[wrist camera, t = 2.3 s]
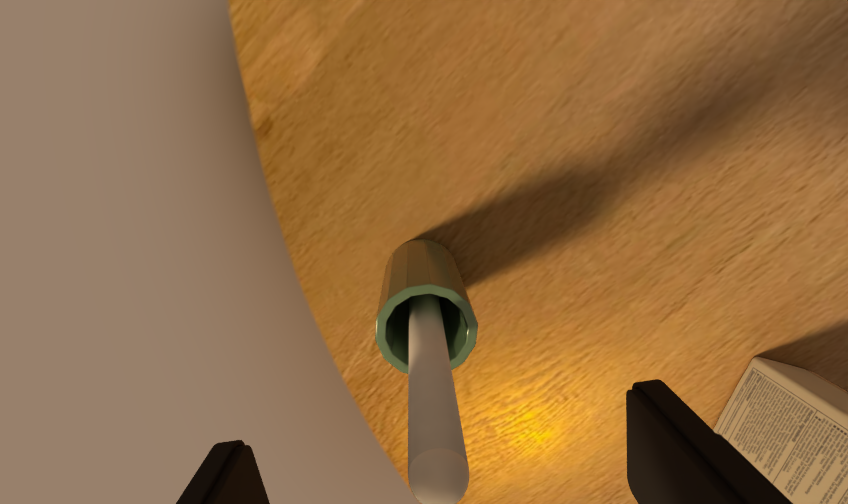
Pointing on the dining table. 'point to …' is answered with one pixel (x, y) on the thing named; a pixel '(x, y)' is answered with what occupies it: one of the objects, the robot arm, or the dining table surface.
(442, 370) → the stylus
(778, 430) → the cosmetic box
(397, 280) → the pen pot
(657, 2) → the dining table surface
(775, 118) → the dining table surface
